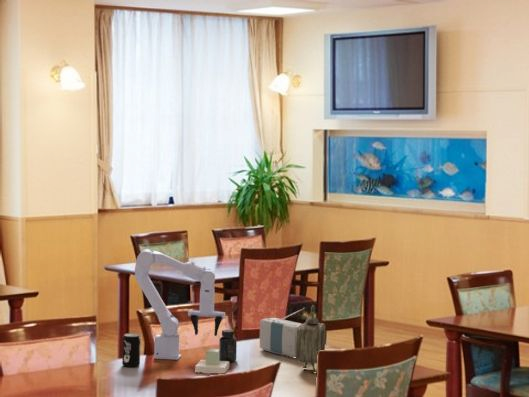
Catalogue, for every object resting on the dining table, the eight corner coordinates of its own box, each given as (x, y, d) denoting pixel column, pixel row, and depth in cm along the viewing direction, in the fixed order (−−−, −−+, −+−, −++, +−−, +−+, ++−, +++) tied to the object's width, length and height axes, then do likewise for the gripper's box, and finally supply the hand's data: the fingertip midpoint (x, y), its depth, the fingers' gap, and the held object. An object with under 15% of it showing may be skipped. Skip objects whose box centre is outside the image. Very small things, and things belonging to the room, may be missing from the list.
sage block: (205, 364, 399) (205, 351, 399) (207, 361, 403) (207, 348, 403) (217, 365, 398) (217, 351, 398) (219, 362, 403) (219, 349, 402)
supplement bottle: (237, 359, 420) (238, 329, 419) (235, 363, 413) (236, 332, 413) (220, 358, 421) (220, 328, 420) (217, 362, 414) (218, 331, 413)
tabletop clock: (318, 375, 397) (320, 308, 396) (294, 373, 399) (296, 307, 398) (324, 367, 412) (326, 302, 410) (301, 365, 413) (303, 301, 412)
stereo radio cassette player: (258, 350, 439) (259, 302, 437) (273, 348, 444) (274, 300, 443) (293, 359, 423) (295, 309, 422) (308, 357, 429) (309, 308, 427)
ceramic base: (195, 373, 396) (195, 366, 396) (200, 367, 407) (200, 359, 407) (224, 375, 395) (224, 367, 394) (229, 369, 405) (229, 361, 405)
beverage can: (118, 366, 402) (119, 334, 401) (128, 363, 408) (129, 332, 407) (133, 368, 399) (134, 337, 398) (143, 365, 405) (143, 334, 404)
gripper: (186, 301, 416) (186, 335, 416) (223, 303, 414) (222, 337, 415) (190, 298, 423) (189, 332, 423) (226, 300, 421) (225, 334, 422)
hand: (206, 334), depth 420 cm, fingers open, 7 cm apart
